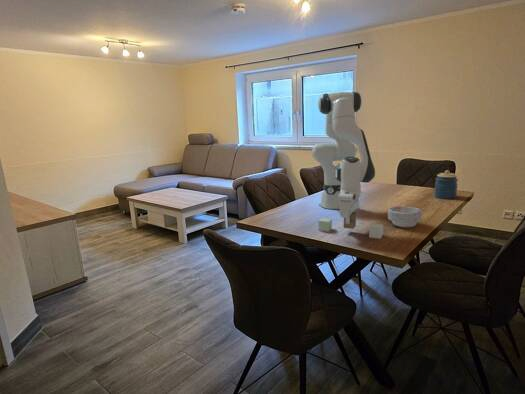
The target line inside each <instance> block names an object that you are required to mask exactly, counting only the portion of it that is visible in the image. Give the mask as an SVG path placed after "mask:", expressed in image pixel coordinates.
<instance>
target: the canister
mask: <svg viewBox="0 0 525 394" xmlns="http://www.w3.org/2000/svg"><path fill="white" fill-rule="evenodd" d="M436 176H437V177H436V178H435V183H434V194H433V195H434V198H437V199H441V200H442V199H444V200H452V199H453V200H454V199H457V195H458V194H457V193H458V181H459V178H457V177H458V176H457V175H456V174H455V173H453V172H450V170H449V169H447V170H445V171H444V172H439V173H438V174H436Z"/></svg>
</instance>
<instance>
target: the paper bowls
mask: <svg viewBox="0 0 525 394" xmlns="http://www.w3.org/2000/svg"><path fill="white" fill-rule="evenodd" d="M422 214H423V212H422V209H420V208H417V207H413V206H403V205H402V206H392V207H389V208H388V212H387V218H388V220H389V221H391V223H392V224H393V225H394V226H396V227H400V228H412V227H415V226H416V225H417V223H419V222H422Z"/></svg>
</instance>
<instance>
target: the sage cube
mask: <svg viewBox="0 0 525 394" xmlns="http://www.w3.org/2000/svg"><path fill="white" fill-rule="evenodd" d="M332 225H333V219H331V218H327V217H326V218H325V217H322V218H320V219H319V220H318V231H320V232H326V233H328V232H330V231H331V230H332V229H333V226H332Z"/></svg>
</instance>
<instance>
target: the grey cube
mask: <svg viewBox="0 0 525 394" xmlns="http://www.w3.org/2000/svg"><path fill="white" fill-rule="evenodd" d="M368 232H369V233H368V237H369V238H370V239H371V238H373V239H378V240H379V239H380V240H381V239H382V237H383V235H384V224H378V223H371V224H370V225H369V231H368Z"/></svg>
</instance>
